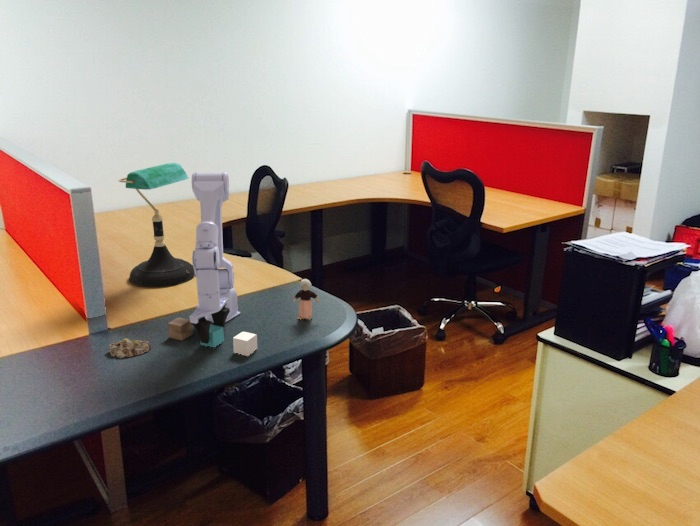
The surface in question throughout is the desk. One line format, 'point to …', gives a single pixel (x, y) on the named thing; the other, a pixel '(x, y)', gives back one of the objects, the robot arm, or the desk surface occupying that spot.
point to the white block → (245, 343)
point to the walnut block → (180, 328)
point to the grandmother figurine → (305, 300)
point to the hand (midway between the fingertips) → (212, 337)
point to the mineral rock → (128, 348)
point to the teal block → (215, 336)
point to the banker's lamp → (158, 231)
